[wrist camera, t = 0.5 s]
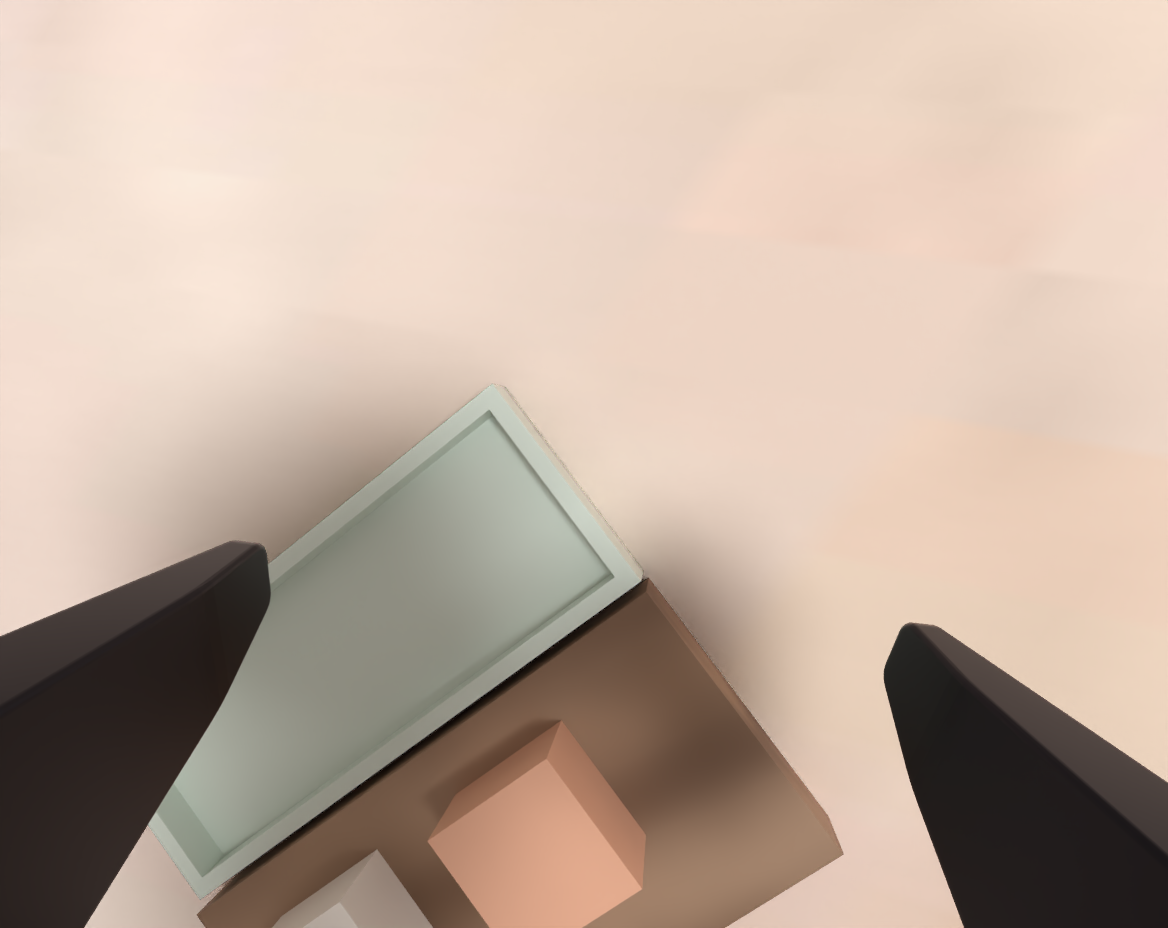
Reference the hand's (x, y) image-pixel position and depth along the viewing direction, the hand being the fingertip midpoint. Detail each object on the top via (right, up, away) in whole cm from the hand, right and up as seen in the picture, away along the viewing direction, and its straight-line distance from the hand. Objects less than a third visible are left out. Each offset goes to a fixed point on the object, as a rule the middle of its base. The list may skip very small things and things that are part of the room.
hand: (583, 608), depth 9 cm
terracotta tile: (-1, -9, +12) cm, 15 cm away
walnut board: (-3, -12, +14) cm, 19 cm away
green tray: (-8, -4, +15) cm, 18 cm away
